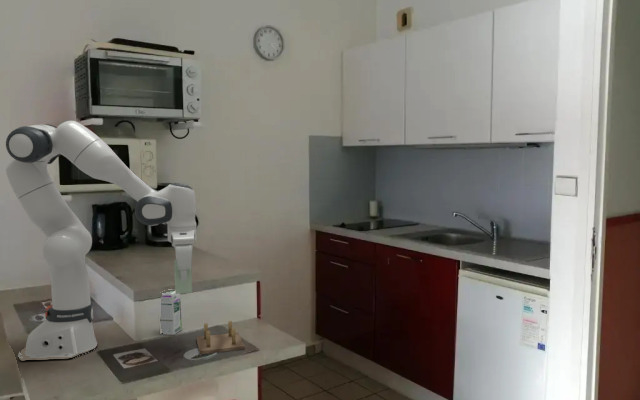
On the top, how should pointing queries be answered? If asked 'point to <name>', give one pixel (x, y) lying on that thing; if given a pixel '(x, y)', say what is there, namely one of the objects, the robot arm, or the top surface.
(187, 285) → the green block
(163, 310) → the syrup box
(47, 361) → the top surface
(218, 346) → the standoff base
